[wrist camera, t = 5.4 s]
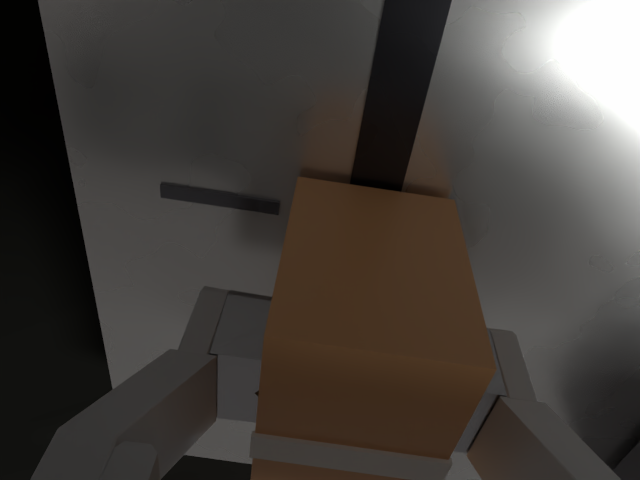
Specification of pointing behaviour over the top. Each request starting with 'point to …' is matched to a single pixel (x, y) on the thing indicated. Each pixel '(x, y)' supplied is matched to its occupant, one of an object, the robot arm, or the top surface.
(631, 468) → the black fader
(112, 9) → the mixing panel
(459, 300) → the orange fader
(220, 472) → the top surface
